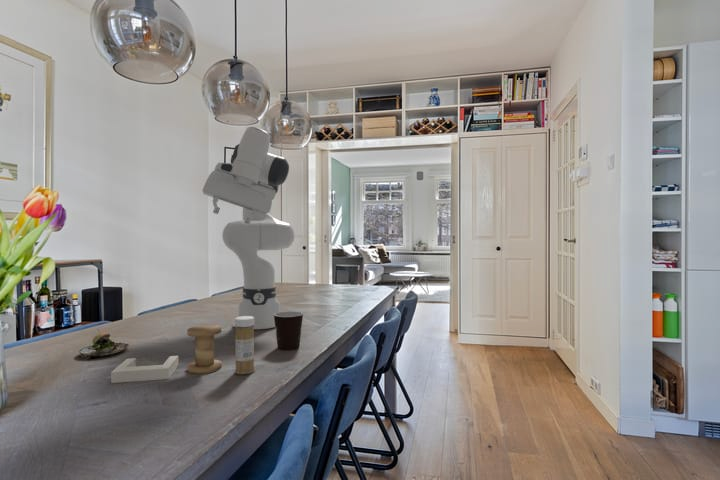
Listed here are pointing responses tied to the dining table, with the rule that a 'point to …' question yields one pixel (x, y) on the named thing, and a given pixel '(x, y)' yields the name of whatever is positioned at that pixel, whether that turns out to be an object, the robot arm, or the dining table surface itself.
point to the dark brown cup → (288, 329)
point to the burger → (102, 347)
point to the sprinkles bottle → (244, 345)
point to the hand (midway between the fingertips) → (231, 218)
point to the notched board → (143, 371)
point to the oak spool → (204, 349)
